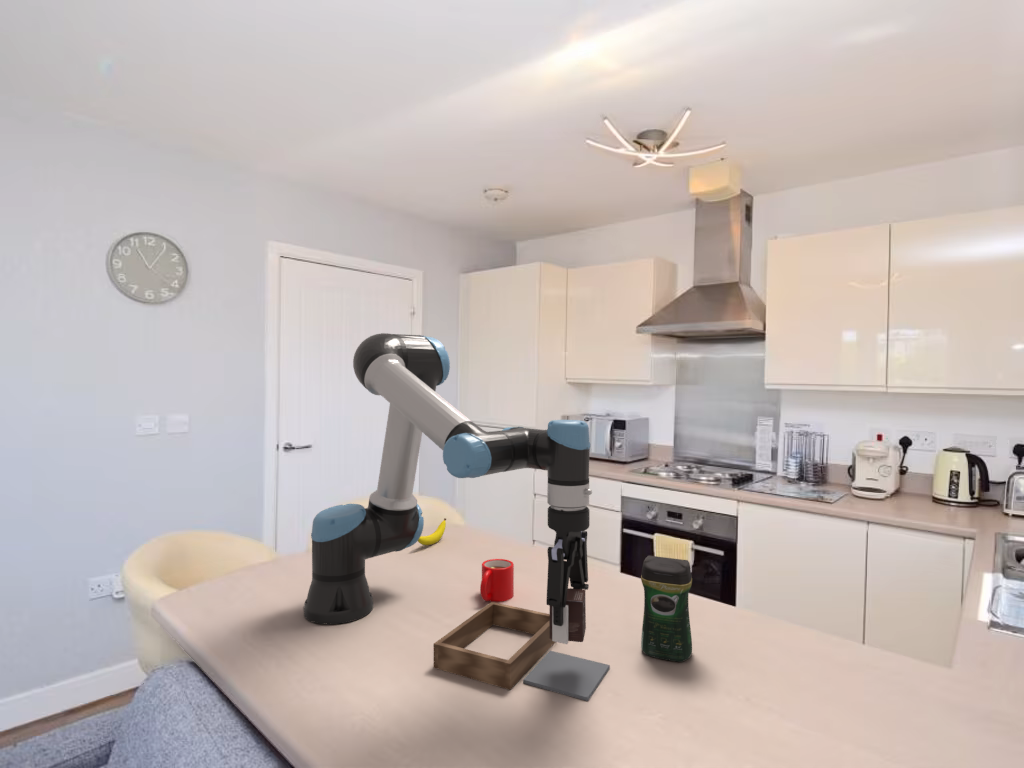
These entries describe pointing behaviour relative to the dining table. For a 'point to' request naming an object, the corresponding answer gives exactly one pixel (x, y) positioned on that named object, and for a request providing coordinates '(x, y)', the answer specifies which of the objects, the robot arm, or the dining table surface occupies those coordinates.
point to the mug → (497, 580)
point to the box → (574, 615)
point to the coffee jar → (666, 608)
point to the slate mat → (567, 675)
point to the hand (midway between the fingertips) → (568, 632)
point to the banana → (433, 535)
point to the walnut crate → (489, 667)
